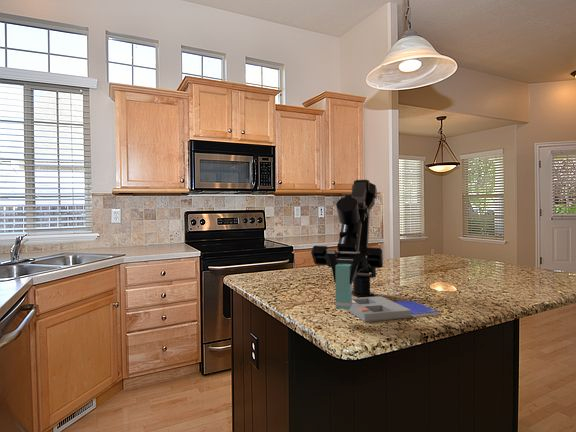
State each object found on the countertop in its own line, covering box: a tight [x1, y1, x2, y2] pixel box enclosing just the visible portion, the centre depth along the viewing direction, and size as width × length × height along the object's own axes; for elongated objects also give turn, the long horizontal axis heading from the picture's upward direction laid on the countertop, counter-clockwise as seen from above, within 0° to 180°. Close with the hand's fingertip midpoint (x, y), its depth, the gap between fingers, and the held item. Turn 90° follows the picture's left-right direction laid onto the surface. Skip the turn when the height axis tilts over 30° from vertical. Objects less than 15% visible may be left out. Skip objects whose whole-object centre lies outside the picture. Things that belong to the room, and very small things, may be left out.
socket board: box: [345, 295, 412, 323], centre depth 105 cm, size 16×14×2 cm
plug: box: [334, 264, 353, 310], centre depth 94 cm, size 4×4×11 cm
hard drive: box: [394, 300, 441, 318], centre depth 107 cm, size 2×8×12 cm
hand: (342, 282), depth 93 cm, fingers closed on plug, 4 cm apart
